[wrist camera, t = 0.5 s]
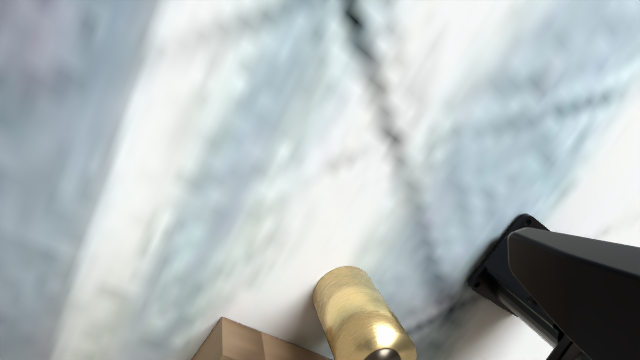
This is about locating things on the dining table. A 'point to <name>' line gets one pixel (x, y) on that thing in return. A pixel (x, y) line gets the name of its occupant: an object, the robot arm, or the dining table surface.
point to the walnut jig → (248, 345)
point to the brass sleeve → (359, 318)
